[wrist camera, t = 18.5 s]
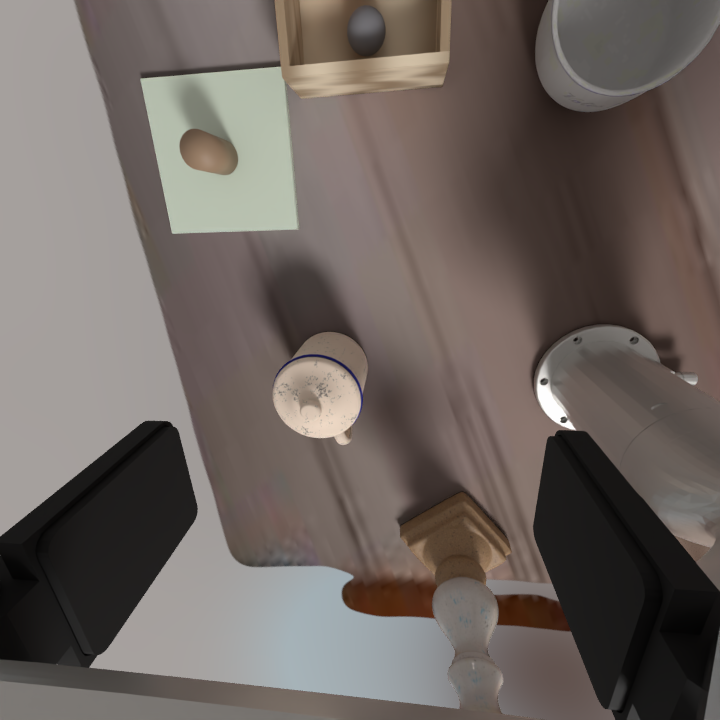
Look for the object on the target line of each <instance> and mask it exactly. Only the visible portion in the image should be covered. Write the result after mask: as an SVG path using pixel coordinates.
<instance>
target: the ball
mask: <svg viewBox="0 0 720 720" xmlns="http://www.w3.org/2000/svg"><path fill="white" fill-rule="evenodd" d="M385 34H386V27H385V22H384V19H383V17H382V15H381V13H380V12H379V11H378V10H377V9H376V8H375V7H373V6H370V5H364V6H360V7H359V8H357V9H356V10H355V11H354V12H353V13H352V15H351V16H350V19H349V21H348V26H347V37H348V41H349V44H350V46H351V47H352V49H353V50H354V51H355V52H356V53H357V54H359V55H361V56H371V55H374V54H375V53H377V52H378V51H379V49H380V48H381V47H382V45H383V42H384V39H385Z"/></svg>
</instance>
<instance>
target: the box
mask: <svg viewBox="0 0 720 720" xmlns="http://www.w3.org/2000/svg"><path fill="white" fill-rule="evenodd" d="M364 5H370V6H373V7H375V8H376V9H377V10H378V11H379V12H380V13H381V15H382V17H383V19H384V22H385V27H386V34H385V39H384V42H383V45H382V47H381V48H380V49H379V51H378V52H377V53H375V54H374V55H371V56H361V55H359V54H357V53H356V52H355V51H354V50H353V49H352V47H351V46H350V44H349V41H348V37H347V26H348V21H349V19H350V16H351V15H352V13H353V12H354V11H355V10H356V9H357V8H359V7H360V6H364ZM275 10H276V21H277V31H278V41H279V51H280V62H281V72H282V78H283V79H284V80H285V81H286V82H287V84H288V85H289V86H290V87H291V88H292V89H293V90H294V91H295V92H296V93H297V94H298V95H299V97H300V98H301V99H304V98H315V97H327V96H339V95H351V94H363V93H375V92H387V91H399V90H410V89H422V88H434V87H442V86H443V82H444V79H445V75H446V72H447V68H448V65H449V55H450V27H451V0H275Z"/></svg>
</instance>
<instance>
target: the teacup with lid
mask: <svg viewBox="0 0 720 720" xmlns="http://www.w3.org/2000/svg"><path fill="white" fill-rule="evenodd" d="M367 372H368V364H367V359H366V356H365V354H364V352H363V350H362V348H361V347H360V346H359V345H358V344H357V343H356V342H355V341H354V340H353V339H351V338H350V337H348V336H346V335H344V334H341V333H336V332H323V333H319V334H316V335H314V336H312V337H310V338H309V339H308V340H306V341H305V342H304V344H303V345H302V346H301V347H300V349H299V350H298V351H297V352H296V354H295V355H294V356H293V358H292V359H291V360H290V361H289V362H287V363H286V364H285V365H284V366H283V367H282V368H281V369H280V370H279V372H278V373H277V375H276V377H275V380H274V383H273V402H274V405H275V408H276V410H277V412H278V414H279V416H280V417H281V419H282V420H283V421H284V422H285V423H286V424H287V425H288V426H289V427H290V428H292V429H293V430H295V431H296V432H298V433H300V434H303V435H306V436H309V437H315V438H326V437H332V436H334V438H335V440H336V441H337V442H338V443H339V444H341V445H345V444H348V443H350V441H351V439H352V425H353V424H354V422H355V421H356V420H357V418H358V416H359V414H360V412H361V409H362V404H363V395H362V394H363V390H364V386H365V381H366V377H367Z"/></svg>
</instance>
